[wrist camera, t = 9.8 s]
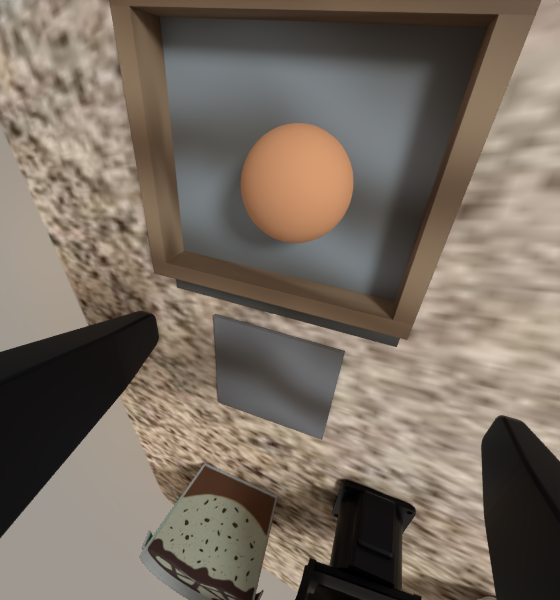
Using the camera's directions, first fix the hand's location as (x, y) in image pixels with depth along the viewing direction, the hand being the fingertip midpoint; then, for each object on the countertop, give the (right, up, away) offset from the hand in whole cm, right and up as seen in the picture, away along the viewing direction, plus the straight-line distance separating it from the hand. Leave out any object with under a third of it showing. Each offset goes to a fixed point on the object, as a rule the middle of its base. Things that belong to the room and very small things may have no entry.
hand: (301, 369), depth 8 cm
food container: (-5, -21, +30) cm, 37 cm away
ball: (0, +7, +6) cm, 9 cm away
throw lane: (0, +3, +12) cm, 13 cm away
